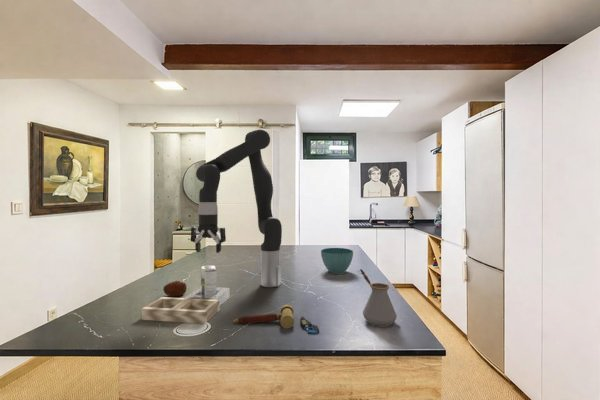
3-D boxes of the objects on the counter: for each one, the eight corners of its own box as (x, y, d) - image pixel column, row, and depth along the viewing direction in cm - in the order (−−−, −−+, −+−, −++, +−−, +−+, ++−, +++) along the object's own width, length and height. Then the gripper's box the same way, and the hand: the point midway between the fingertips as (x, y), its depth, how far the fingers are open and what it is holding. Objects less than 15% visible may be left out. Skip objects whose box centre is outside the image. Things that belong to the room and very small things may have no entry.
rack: (219, 310, 116) (219, 299, 116) (205, 323, 104) (205, 312, 104) (161, 306, 119) (161, 296, 119) (141, 319, 107) (141, 308, 107)
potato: (181, 298, 128) (181, 283, 128) (160, 298, 129) (160, 283, 129) (188, 293, 135) (188, 279, 135) (168, 293, 136) (168, 278, 136)
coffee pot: (403, 327, 101) (403, 283, 100) (372, 331, 98) (372, 285, 98) (373, 304, 121) (373, 267, 121) (346, 307, 119) (346, 269, 118)
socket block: (229, 297, 130) (229, 287, 130) (217, 308, 117) (217, 298, 117) (201, 295, 132) (201, 286, 132) (186, 306, 119) (185, 296, 119)
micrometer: (320, 329, 96) (304, 331, 96) (320, 335, 96) (304, 337, 96) (312, 314, 108) (298, 315, 107) (312, 319, 108) (298, 320, 107)
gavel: (230, 320, 99) (235, 308, 109) (231, 334, 100) (236, 321, 110) (293, 314, 101) (292, 303, 111) (294, 328, 101) (293, 316, 111)
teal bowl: (355, 276, 162) (355, 253, 161) (321, 276, 162) (321, 253, 162) (350, 268, 180) (350, 247, 180) (320, 268, 180) (320, 247, 180)
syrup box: (200, 300, 126) (200, 266, 126) (215, 298, 128) (214, 264, 128) (201, 305, 121) (201, 269, 121) (217, 303, 123) (216, 267, 123)
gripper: (228, 212, 127) (228, 251, 127) (196, 212, 129) (196, 250, 129) (220, 214, 119) (220, 254, 120) (187, 213, 121) (187, 253, 122)
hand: (208, 252), depth 124 cm, fingers open, 8 cm apart
